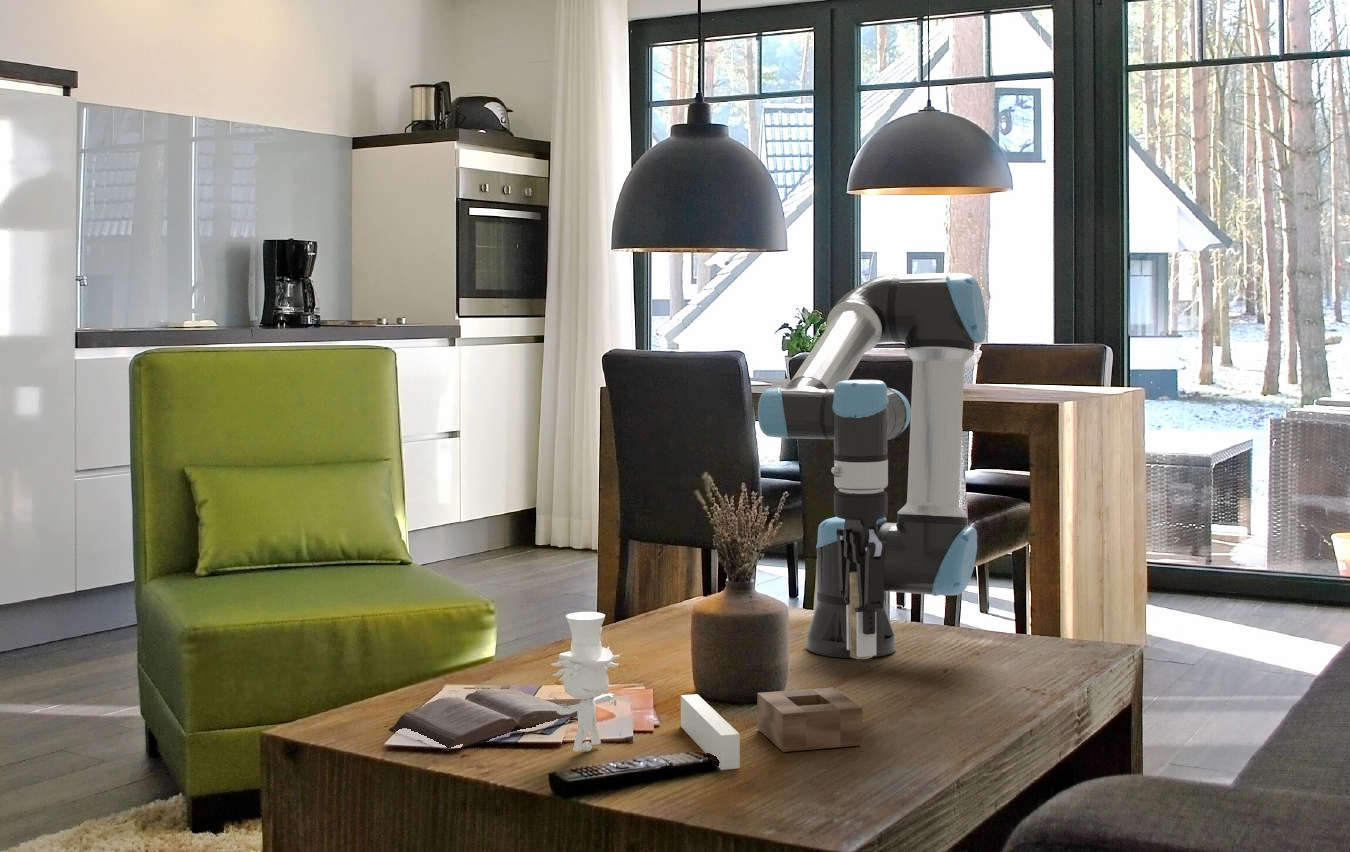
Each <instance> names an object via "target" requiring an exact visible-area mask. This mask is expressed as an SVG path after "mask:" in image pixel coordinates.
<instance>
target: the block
mask: <svg viewBox="0 0 1350 852" xmlns="http://www.w3.org/2000/svg"><path fill="white" fill-rule="evenodd" d="M756 696H757V697H756V698H757V700H756V702H757V704H756V707H757V708H756V710H757V712H756V714H757V715H756V716H757V717H756V719H757V720H756V723H757V724H756V725H757V730H758V731H759V732H761V734H762V735H764V736H765V737H766V738H767V739H768V740H770V742H771V743H772V744H774V745H775V746H776V747H777V748H778V749H779V750H781V752H783V753H785V752H797V751H809V750H820V749H832V748H833V749H834V748H844V747H857V746H863V707H862V706H860V705H859V704H857V703H856V702H854V701H853V700H851V699H850V698H849V697H847V696H846V695H845V694H843V693H841V692H840V691H839V690H837V689H835V688H834V687H833V686H832V687H821V688H820V687H818V688H808V689H806V688H805V689H793V690H778V691H768V692H765V691H764V692H757V693H756Z"/></svg>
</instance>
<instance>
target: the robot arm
mask: <svg viewBox="0 0 1350 852" xmlns="http://www.w3.org/2000/svg"><path fill="white" fill-rule="evenodd" d="M984 302H985V301H984V297H983V292H982V289H981V286H980V284H979V282H978V281H977V279H976V278H975V277H974V276H973V275H970V274H969V273H968V274H967V273H953V272H952V273H951V272H941V273H936V272H935V273H916V274H915V273H914V274H911V273H910V274H909V273H908V274H886V275H880V276H878V277H874V278H872V279H870V280H867V281H865V282H863V283H861V284H859V285H858V286H856V287H854V288H853V289H852V290H850V291H848V292H847V293H846V294H845V295H844V296H843V297H841V298H840V299H839V300H838V301H837V302H836V303H835V305H834V306H833V307H832V309H831V310H830V311H829V314H827V319H826V328H825V330H824V331H823V332H822V334H821V336H820V337H819V339H818V340H817V342H816V343H815V344H814V346H813V348H812V349H811V351H810V352H809V353H808V355H807V357H806V358H805V360H804V361H803V362H802V364H801V365H800V366H799V368H798V370H797V371H796V373H795V374H794V376H793V377H792V378H791V380H790V382H789V383H788V384H787V385H786V387H783V388H782V387H780V386H778V387H775V388H773V387H772V388H767V389H764V391H763V392H762V393H761V395H760V397H759V400H758V405H757V421H758V426H759V429H760V430H761V432H762V433H763V435H765V436H767V437H770V438H782V439H785V440H788V439H801V440H803V439H805V440H806V439H811V440H815V439H816V440H819V439H820V440H833V459H834V460H833V462H834V463H833V465H834V467H831V469H830V471H831V473H832V475H834V477H833V478H834V480H833V481H834V482H833V483H834V487H836V488H837V489H838V490H835V492H834V493H833V509H834V510H833V514H834V515H835V516H834V517H831V518H827V519H824V520H823V521H821V522H820V524H819V525H818V528H817V543H816V546H815V548H816V591H817V592H816V598H817V599H816V606H815V610H814V612H813V615H812V619H811V621H810V625H809V626H808V627H809V628H808V630H807V634H806V649H807V650H808V651H809V652H811V653H813V654H817V655H821V656H825V657H830V658H831V657H832V658H842V659H853V658H852V657H850V573H851V572H856V571H857V579H858V595H859V608H854V609H855V612H856V631H857V656H858V657H864V656H873V657H872V658H877V657H884V656H886V655H889V654H892V653H894V652H895V651H896V636H895V632H894V629H893V626H892V623H891V619H890V617H889V613H888V611H887V607H886V592H891V593H903V594H904V593H905V594H916V595H917V594H918V595H930V596H933V597H938V596H958V595H960V594H962V593H963V592H964V591H966V590H967V587H968V585H969V583H970V581H971V578H972V575H973V572H974V568H975V565H976V564H975V563H976V558H977V551H978V532H977V530H976V528H975V527H973V526H971V525H968V515H967V513H966V512H965V511H964V510H963V509H962V508H961V507H960V502H959V501H960V480H961V479H960V478H961V461H962V460H961V458H962V457H961V456H962V434H963V411H964V410H963V409H964V408H963V407H964V387H965V383H964V382H965V366H966V365H965V364H966V363H967V362H968V361H969V360H970V359H971V358H972V357H973V356H974V355H975V346H976V345H975V344H980V343H983V342H984V341H985V339H986V331H987V317H986V307H985V303H984ZM882 343H904V353H905V354H906V355H907V357H908V358H909V359H910V360H911V361H912V378H911V379H912V381H911V382H912V383H911V401H910V403H911V404H910V403H909V400H908V398H907V397H906V396H905V395H904V394H903V393H902V392H900V391H899V390H896V389H894V388H890V387H887V384H886V382H884V381H882V380H880V379H850V378H851V376H852V374H853V372H854V371H855V369H856V368H857V366H858V364H859V362H861V360H862V358H863V356H864V354H865V353H867V352H869V351H872V350H873V349H874V348H875V347H876V346H877V345H878V344H882ZM909 424H910V425H909ZM908 426H909V447H908V448H909V450H908V451H909V452H908V473H907V474H908V476H907V493H906V494H907V496H906V497H907V498H906V503H905V504H904V505H903V506H902V507H901V508H900V509H899V510H898V511H897V514H896V515H897V516H896V517H897V518H896V522H887V520H888V519H887V518H886V517H887V516H888V509H889V508H888V503H889V501H888V500H889V499H888V492H887V491H886V490H885V489H886V488H887V487H888V485H889V459H888V441H889V440H892V439H896V437H899V435H901V434H902V433H903V432H904V431H905V430H906V428H907V427H908Z"/></svg>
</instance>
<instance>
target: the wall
mask: <svg viewBox="0 0 1350 852" xmlns="http://www.w3.org/2000/svg"><path fill="white" fill-rule="evenodd" d="M680 727H681V728H682V730H684V732H685V733H686V734H687V735H688V736H689V737H690V738H691V739H692V740H693V741H694V743H696V745H698V746H699V748H700V749H701V750H702V751H703V752H704V753H705V754H706V753H710V754H712V755H714V756H716V757H717V759H718V760H719V762H720V763H719V766H717V767H718V768H719V769H720V771H725V770H736V769H740V768H741V767H740V766H741V765H740V758H741V757H740V754H741V753H740V750H741V749H740V748H741V747H740V743H741V742H740V733H739V731H737V730H736V729H735V728H734V727H733V726H732V725H731V724H730V723H729V722H728V721H726V719H724V718H723V716H721V715H720V714H719V713H718V712H717V711H716V710H715V709H714V708H713V707H712V706H711V705H709V704H708V702H707V701H705V700H704V699H703V698H702V697H701V695H699V694H698V693H695V694H682V695H680Z"/></svg>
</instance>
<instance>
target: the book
mask: <svg viewBox="0 0 1350 852" xmlns="http://www.w3.org/2000/svg"><path fill="white" fill-rule="evenodd" d="M563 707H564V706H560V705H558V704H555V703H553V702H550V701H547V700H543V699H541V698H539V697H535V696H533V695H530V694H526V693H524V692H523V691H520V689H477V690H475V691H474V692H471V693H468V694H467V695H466V696H465V697H464V698H463V697H458V696H452V697H451V696H446V697H443V698H437V699H436V700H433V701H430V702H428V703H426V704H424V705H423V706H420V707H416V708H414V709H411V710H408V711H406V712H405V713H403V714H401V715H400V717H399V718H398V719H397V721H396V723H395V724H392V726H391V727H390V728H388V731H390V732H392V733H395V732H396V731H398V730H399V729H402V728H407V729H411V731H414V732H418V733H419V734H421V735H424V736H427V738H430V739H433V740H434V741H436V742H439V744H442V745H445V746H446V747H447V749H446V750H445V751H444V752H449V750H448V748H451V747H454V746H456V745H460V744H463V748H468V747H471V746H476V745H481V744H486V743H487V742H486V741H489V740H490V739H492V738H496V737H497V736H501V735H504V734H507V733H509V732H513V731H517V730H520V729H526V728H532V727H536V725H539V724H543V723H545V722H550V721H554V720H556V719H561V718H565V717H576V716H577V712H578V711H576V712H574V713H571V714H565V715H560V714H558V713H557V712H556V711H557V710H558V709H561V708H563ZM386 724H387V725H385V726H384V728H387V727H389V722H386ZM485 742H486V743H485ZM463 748H462V749H463Z"/></svg>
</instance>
